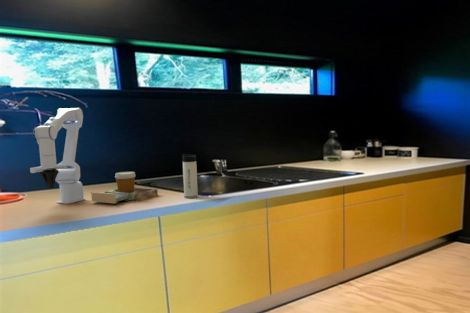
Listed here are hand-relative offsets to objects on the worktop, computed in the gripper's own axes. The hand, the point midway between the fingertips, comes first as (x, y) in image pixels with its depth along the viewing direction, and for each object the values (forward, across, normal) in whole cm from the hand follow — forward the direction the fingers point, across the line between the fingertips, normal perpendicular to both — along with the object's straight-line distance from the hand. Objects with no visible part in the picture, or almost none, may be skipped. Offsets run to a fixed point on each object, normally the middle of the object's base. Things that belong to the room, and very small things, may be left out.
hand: (50, 188), depth 145 cm
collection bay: (+9, -32, +12) cm, 35 cm away
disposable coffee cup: (+10, -29, +12) cm, 33 cm away
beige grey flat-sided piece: (+9, -22, +12) cm, 27 cm away
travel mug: (+10, -42, +40) cm, 59 cm away
